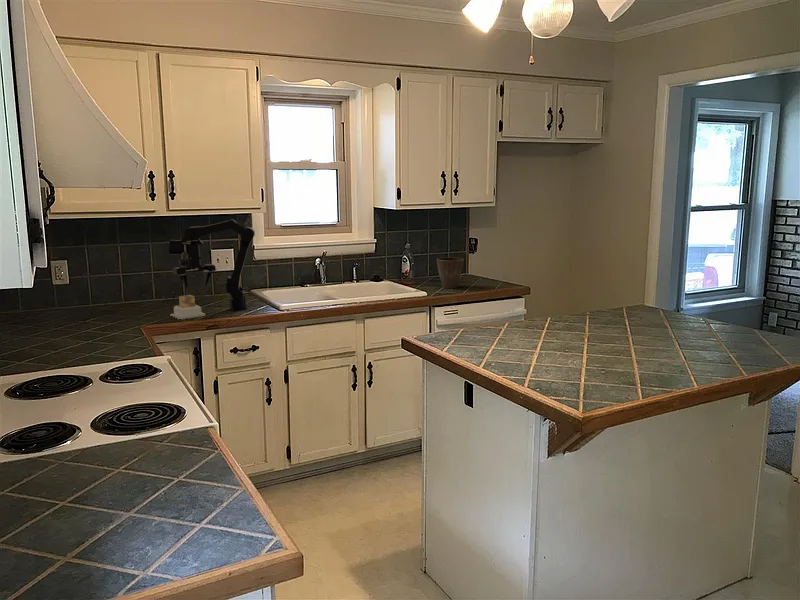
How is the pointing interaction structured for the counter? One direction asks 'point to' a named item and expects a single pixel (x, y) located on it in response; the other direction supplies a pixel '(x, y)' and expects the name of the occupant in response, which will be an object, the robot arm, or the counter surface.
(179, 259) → the robot arm
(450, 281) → the plant pot
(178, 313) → the base
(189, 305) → the block
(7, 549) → the counter surface
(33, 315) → the counter surface
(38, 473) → the counter surface
